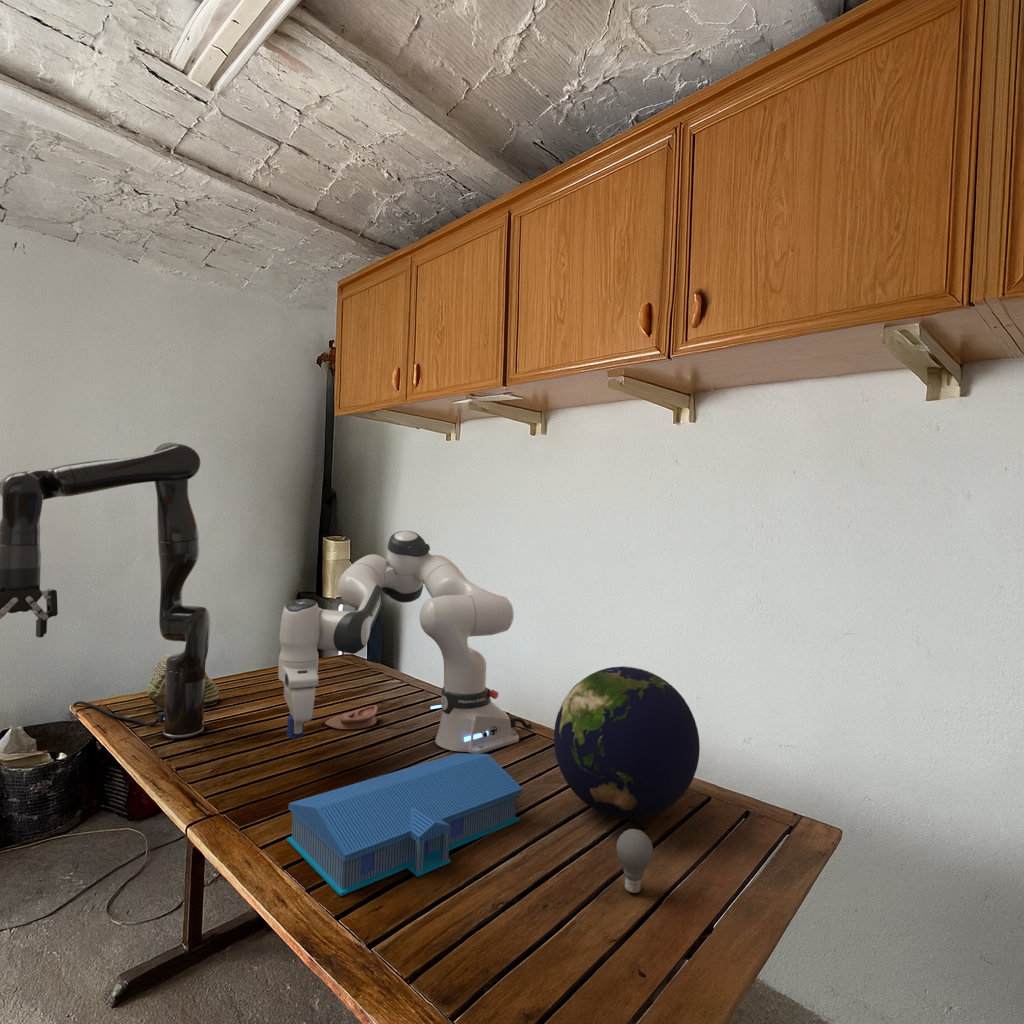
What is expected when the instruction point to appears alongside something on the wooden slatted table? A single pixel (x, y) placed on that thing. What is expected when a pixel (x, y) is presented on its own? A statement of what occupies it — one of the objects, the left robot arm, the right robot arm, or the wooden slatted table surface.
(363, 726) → the anatomical model
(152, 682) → the fossil
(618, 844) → the light bulb
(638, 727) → the globe
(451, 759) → the model building
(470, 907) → the wooden slatted table surface
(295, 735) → the canister
